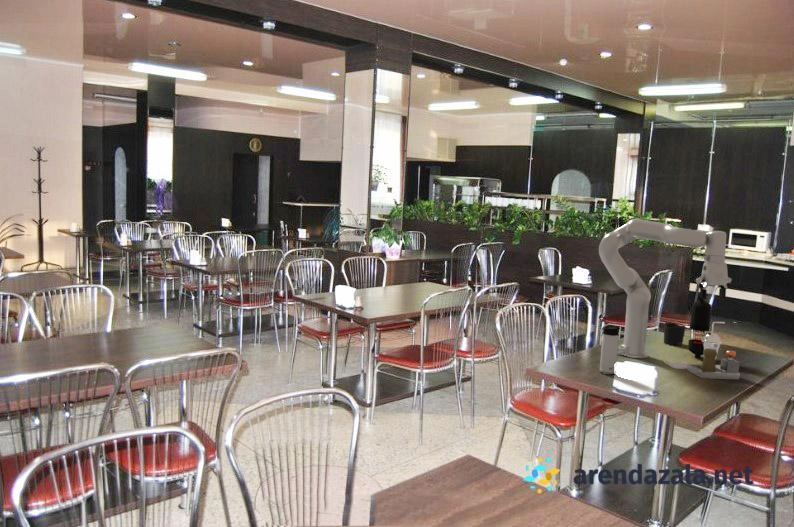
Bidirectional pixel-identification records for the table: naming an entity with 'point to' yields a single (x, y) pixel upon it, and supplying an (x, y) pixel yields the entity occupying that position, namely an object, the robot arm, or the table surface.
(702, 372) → the housing
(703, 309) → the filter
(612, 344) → the travel mug
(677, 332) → the pen holder
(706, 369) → the brown waisted column
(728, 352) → the plunger
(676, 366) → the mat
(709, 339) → the cup with straw
